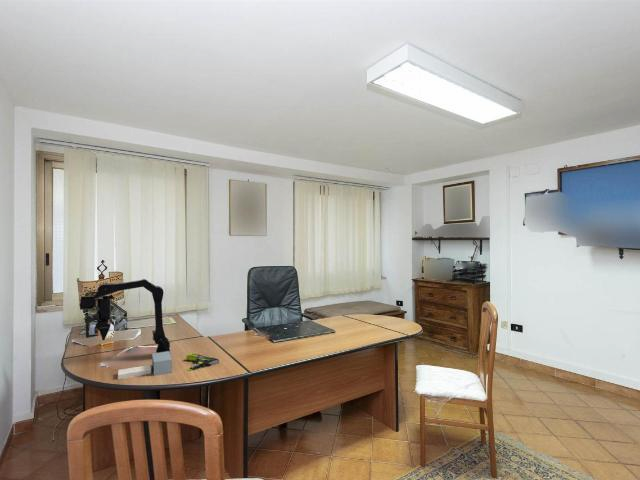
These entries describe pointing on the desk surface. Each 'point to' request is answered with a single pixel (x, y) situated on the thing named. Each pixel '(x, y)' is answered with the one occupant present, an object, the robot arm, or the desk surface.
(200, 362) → the toy gun
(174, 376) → the desk surface
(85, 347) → the desk surface
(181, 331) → the desk surface
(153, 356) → the overhang
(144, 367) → the tile
